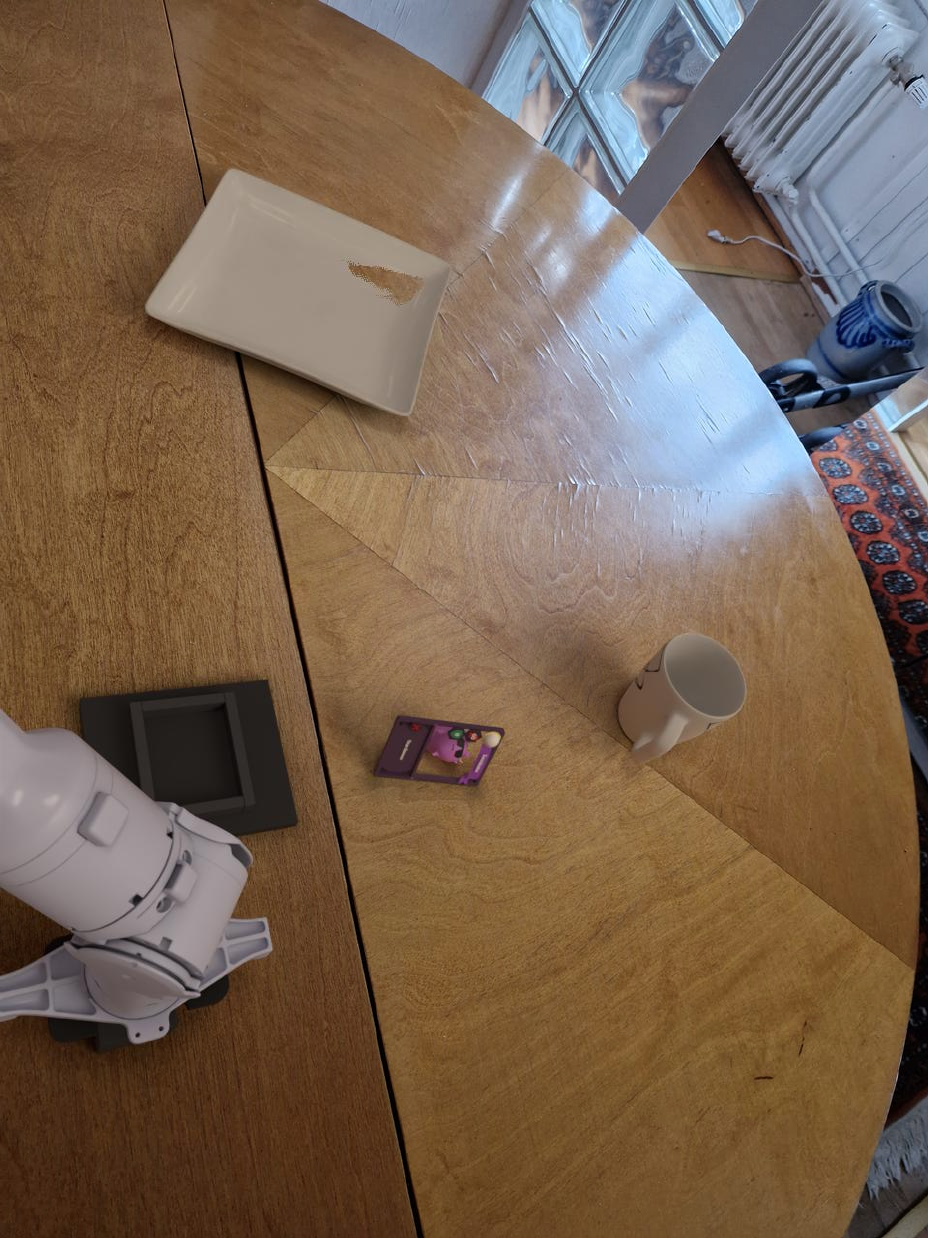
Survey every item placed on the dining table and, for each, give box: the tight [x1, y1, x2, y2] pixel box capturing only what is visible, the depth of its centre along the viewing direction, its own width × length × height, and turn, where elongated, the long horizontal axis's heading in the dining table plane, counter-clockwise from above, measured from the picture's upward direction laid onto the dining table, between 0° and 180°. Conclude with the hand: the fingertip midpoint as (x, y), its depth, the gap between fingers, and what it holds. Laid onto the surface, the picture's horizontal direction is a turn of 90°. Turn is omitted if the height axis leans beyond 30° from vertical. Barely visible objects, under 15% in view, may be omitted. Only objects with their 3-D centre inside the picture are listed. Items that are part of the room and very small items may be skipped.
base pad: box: [78, 679, 299, 838], centre depth 66 cm, size 14×12×2 cm
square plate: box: [144, 167, 453, 417], centre depth 95 cm, size 27×27×4 cm
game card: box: [374, 714, 506, 787], centre depth 73 cm, size 7×5×9 cm
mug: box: [617, 631, 747, 765], centre depth 80 cm, size 11×8×10 cm
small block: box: [94, 1008, 179, 1054], centre depth 56 cm, size 4×6×4 cm
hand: (129, 991), depth 57 cm, fingers closed on small block, 4 cm apart
